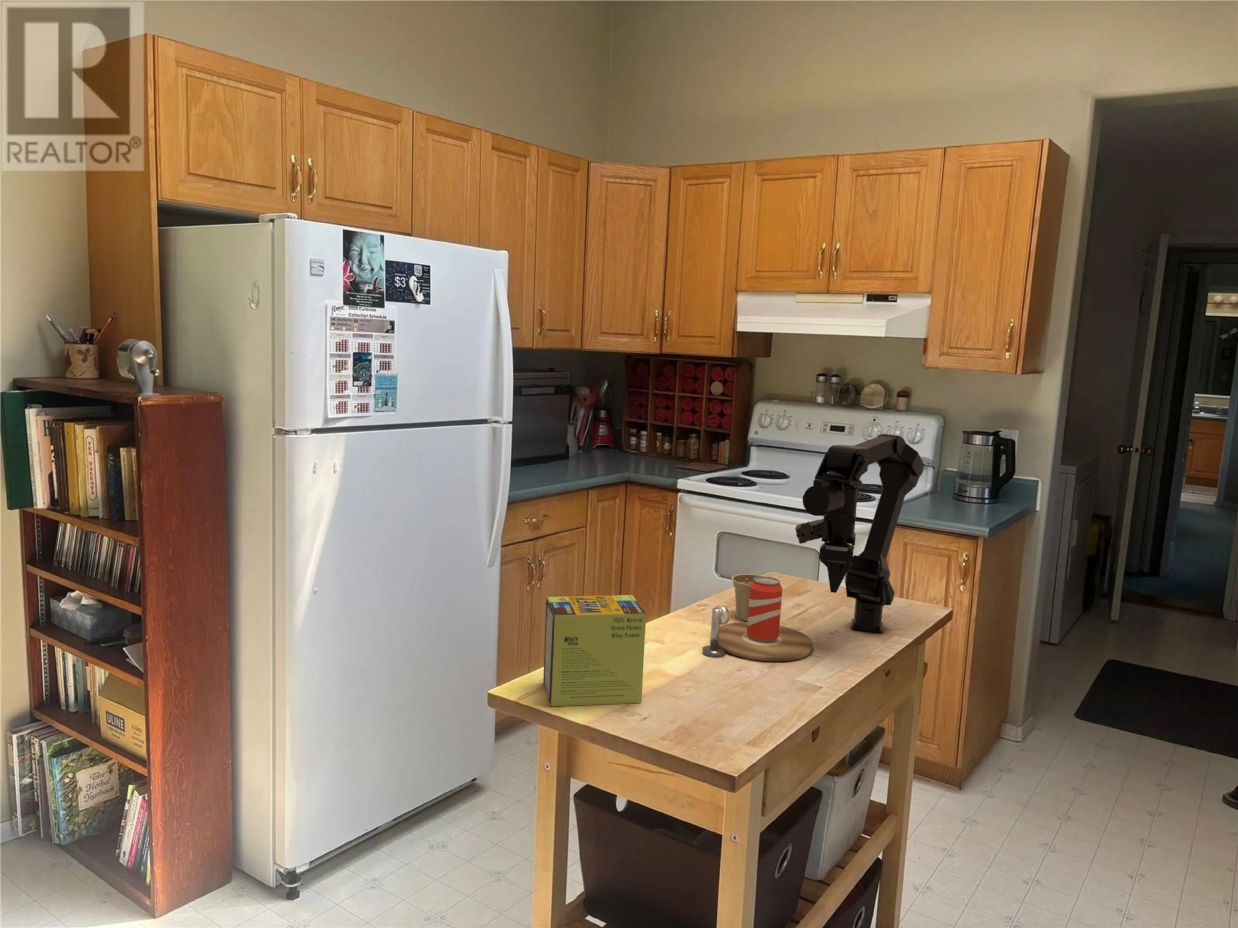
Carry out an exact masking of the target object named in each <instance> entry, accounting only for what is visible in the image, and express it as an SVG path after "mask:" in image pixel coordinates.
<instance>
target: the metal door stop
mask: <svg viewBox="0 0 1238 928" xmlns="http://www.w3.org/2000/svg"><path fill="white" fill-rule="evenodd" d="M729 621H730V612H729V609H728V607H727V606H726V605H715V607H713V608H712V611H711V624H710V625H711V626H710V627H711V628H710V641H709V644H708V645H705V646H703V647H702V651H701V653H702V654H703V655H704V656H706V657H710V658H722V657H725V656H726V652H725V649H724V648H722V647H720V646H718V645H719V630H720V626H722V625H725V624H729Z"/></svg>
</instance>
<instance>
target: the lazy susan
mask: <svg viewBox="0 0 1238 928" xmlns="http://www.w3.org/2000/svg"><path fill="white" fill-rule="evenodd" d="M747 623H748V621H740V622H732V623H727V624H723V625H720V630H719V645H718V646H720V647H722V648H724V649H725V653H728V654H730V655H733V656H736V657H740V658H743V659H749V660H755V661H763V662H764V661H765V662H789V661H797V660H800V659H803V658H805V657H807V656H809V655H811V653H812V652H813V649H814V648H813V647H814V642H813V640H812V639H811V638H810V637H809V636H808V635H807V634H805V633H803V632H801V631H799V630H797V629H793V628H791V627H787V626H783V625H780V626H779V636H778V638H777V639H774V640H773V641H771V642H759V641H756V640H753V639H752V638H751V637H750V636H749V635H747Z"/></svg>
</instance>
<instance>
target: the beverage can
mask: <svg viewBox="0 0 1238 928" xmlns="http://www.w3.org/2000/svg"><path fill="white" fill-rule="evenodd" d="M765 576H766V575H761V576H760V577H755V578H754V582H753V583H752V585H751V586H750V596H749V609H748V620H747V622H748V623H747V635H749V636H750V637H751V638H752V639H753V640H756V641H759V642H771V641H773V640H774V639H777V638H778V636H779V626H781V625H780V623H781V613H782V600H783V599H782V598H783V587H782V585H781V580H780V579H778V578H776V577H773V576H772V577H771V576H766V577H765Z"/></svg>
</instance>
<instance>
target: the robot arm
mask: <svg viewBox="0 0 1238 928" xmlns="http://www.w3.org/2000/svg"><path fill="white" fill-rule="evenodd" d="M875 463H876V464H877V465H878V467H879V478H880V482H881V485H882V489H881V494H880V496H879V500H878V503H877V507H876V509H875V513H874V516H873V518H872V519H873V520H872V523H871V525H870V529H869V533H868V535H867V539H866V542H865V546H864V549H863V551H862V552H861V553H860V554H858V555H856V554H854V550H855V545H856V532H855V529H856V528H855V527H856V518H857V506H858V505H857V504H858V494H859V493H858V492H859V487H862V486H863V484H864V483H863V482H862V480H861V477H862V476H863V475H864V474H865V473H867V472H868V468H869V466H870V465H872V464H875ZM924 465H925V464H924V461H923V459H922V457H921V456H920V454H919V452H918V451H917V450H916V449H914V448H913V447H912V446H911V445H909V444H908V443H906V440H905V439H904V437H902V436H901V435H897V434H888V433H881V434H878V435H877V436H876V437H874V438H871V439H868V440H865V441H863V442H859V443H857V444H854V445H847V444H846V445H845V444H833V445H831V446H830V447H829V448H828V449H827V451H826V452H825V453H824V455H823V458H822V461H821V463H820V464H819V467H818V469H817V471H816V474H815V476H814V480H813V485H812V486H809V487H808V488H807V489H805V491H804V493H803V495H802V505H803V508H804V510H805V511H806V512H807V513H808V514H809V515H812V516H815V517H820V516H823V518H821V519H815V520H812V521H807V522H801V523H800V524H797V525H796V526H795V528H794V529H795V533H796V537H797V539H798V543H799V544H800V545H801V544H806V543H807V542H810V541H814V540H818V539H821V542H823V543H822V544H821V545H820V547H819V554H818V555H819V556H818V559H819V561H820V562H821V563H822V564H823V565H824V566H825V567H826V570H827V575H828V577H827V578H828V583H829V590H830V593H834V594H836V593H837V592H838V590H839V588H840V587H841V585H842V583H843V580H844V583H845V584H844V585H845V593H846V597H847V598H852V599H855V600H854V601H855V602H854V603H855V604H854V613H853V614H854V616H853V618H852V619H851V623H850V624H851V625H850V629H851V630H854V631H861V632H868V633H869V632H870V633H878V634H883V633H884V623H883V621H882V619H883V610H884V609H883V608H884V606H891V605H892V603H893V601H894V599H895V598H894V597H895V590H894V588H893V586H892V584H891V582H890V575H891V572H890V568H889V563H888V561H887V556H888V553H889V550H890V547H891V544H892V540H893V537H894V533H895V530H896V527H897V525H898V520H899V517H900V514H901V510H902V507H903V503H904V501H905V497H906V496H907V494H909V493H910V492H911V491H913V489H914V488H916V487H917V485H918V482H919V480H920V477H921V476H922V474H923V472H924V468H925V467H924Z"/></svg>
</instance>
